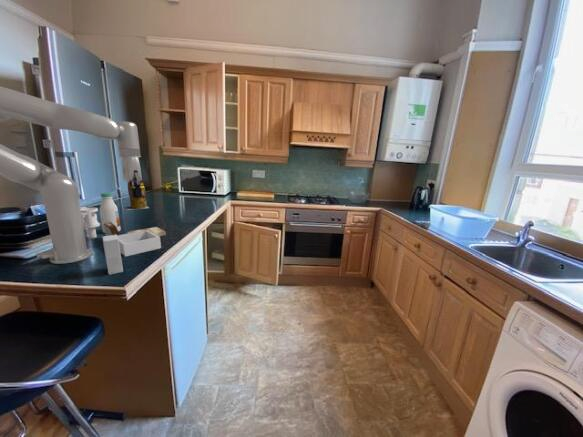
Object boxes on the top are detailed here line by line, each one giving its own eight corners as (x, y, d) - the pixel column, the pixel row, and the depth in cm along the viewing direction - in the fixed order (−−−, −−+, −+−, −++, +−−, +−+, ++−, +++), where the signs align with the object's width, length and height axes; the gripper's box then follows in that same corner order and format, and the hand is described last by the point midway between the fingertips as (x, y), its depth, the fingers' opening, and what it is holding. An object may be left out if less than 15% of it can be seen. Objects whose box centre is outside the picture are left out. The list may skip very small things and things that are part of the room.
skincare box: (107, 268, 88) (102, 236, 85) (121, 266, 91) (117, 234, 88) (108, 275, 84) (102, 241, 81) (123, 272, 86) (118, 238, 83)
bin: (125, 256, 99) (123, 244, 98) (114, 247, 109) (112, 236, 108) (161, 248, 109) (160, 237, 108) (148, 240, 119) (147, 230, 117)
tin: (121, 244, 112) (118, 226, 110) (113, 246, 110) (110, 227, 108) (112, 237, 122) (110, 220, 120) (104, 238, 120) (102, 221, 118)
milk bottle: (114, 233, 127) (108, 194, 122) (99, 233, 127) (92, 194, 122) (124, 229, 134) (119, 192, 130) (109, 229, 135) (104, 191, 130)
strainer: (82, 236, 121) (77, 206, 118) (100, 234, 126) (96, 204, 122) (83, 240, 116) (78, 208, 113) (102, 237, 121) (98, 206, 117)
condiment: (149, 208, 110) (146, 180, 107) (127, 210, 105) (123, 181, 102) (145, 205, 115) (142, 179, 113) (123, 207, 110) (119, 180, 107)
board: (134, 241, 117) (134, 237, 117) (127, 235, 124) (126, 232, 124) (165, 234, 127) (165, 231, 127) (156, 230, 134) (156, 226, 134)
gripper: (114, 153, 108) (120, 195, 112) (125, 153, 96) (131, 200, 100) (134, 153, 113) (139, 193, 117) (146, 153, 101) (151, 198, 106)
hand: (135, 196), depth 109 cm, fingers closed on condiment, 6 cm apart
